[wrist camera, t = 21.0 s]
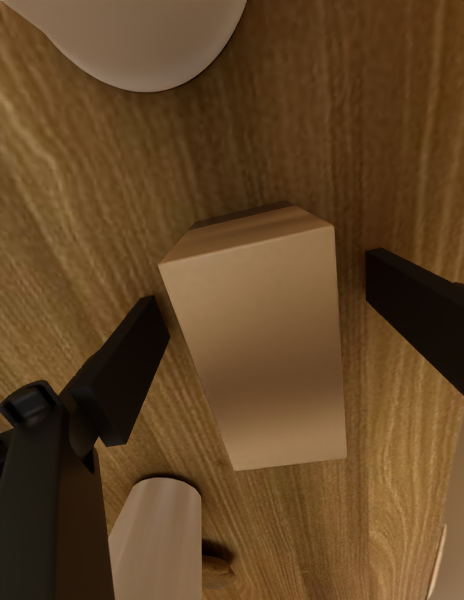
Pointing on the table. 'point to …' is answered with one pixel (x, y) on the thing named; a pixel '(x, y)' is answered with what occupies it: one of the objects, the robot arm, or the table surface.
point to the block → (264, 331)
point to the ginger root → (216, 573)
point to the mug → (136, 36)
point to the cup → (158, 543)
